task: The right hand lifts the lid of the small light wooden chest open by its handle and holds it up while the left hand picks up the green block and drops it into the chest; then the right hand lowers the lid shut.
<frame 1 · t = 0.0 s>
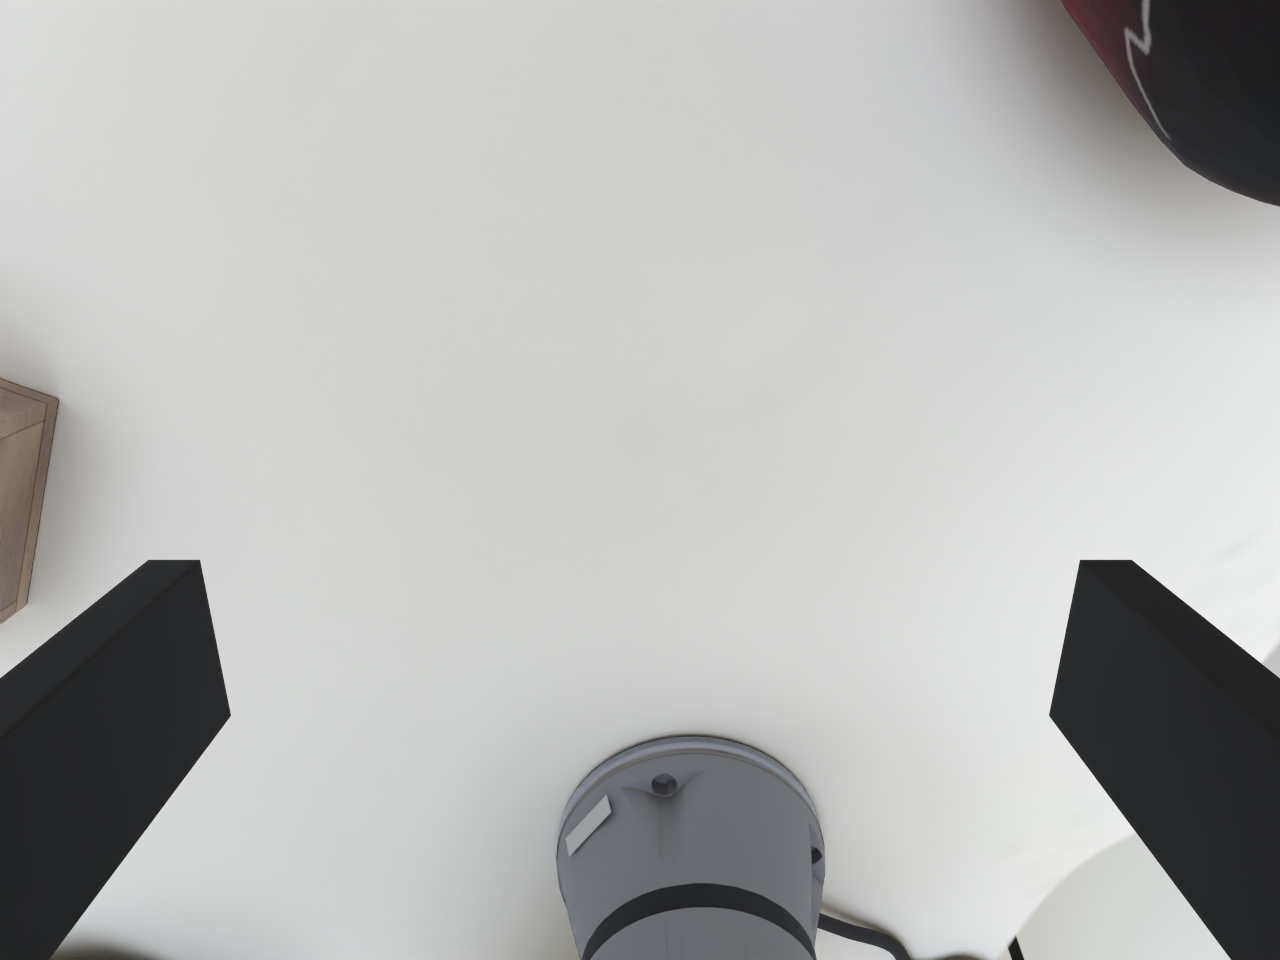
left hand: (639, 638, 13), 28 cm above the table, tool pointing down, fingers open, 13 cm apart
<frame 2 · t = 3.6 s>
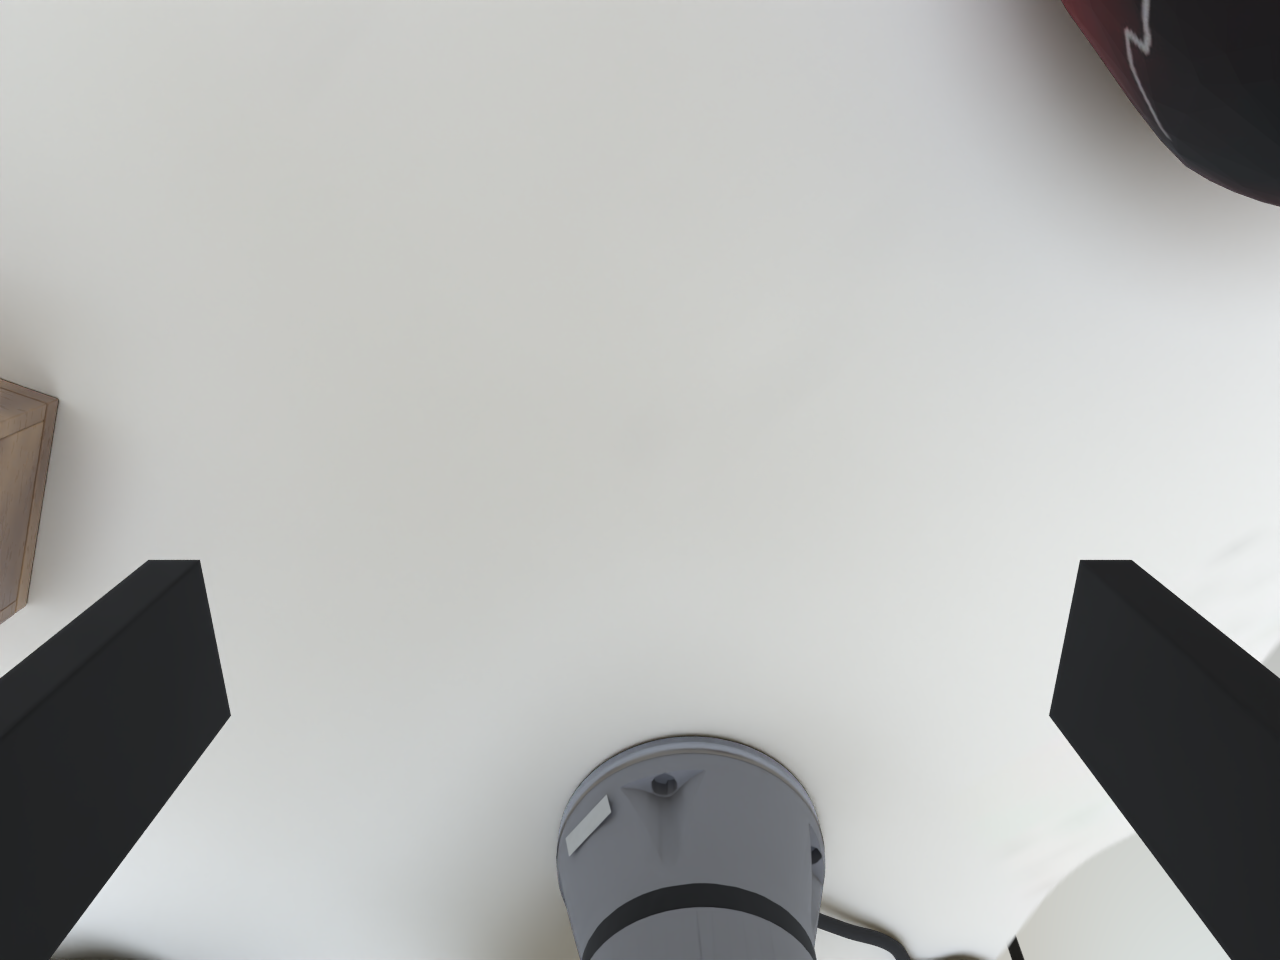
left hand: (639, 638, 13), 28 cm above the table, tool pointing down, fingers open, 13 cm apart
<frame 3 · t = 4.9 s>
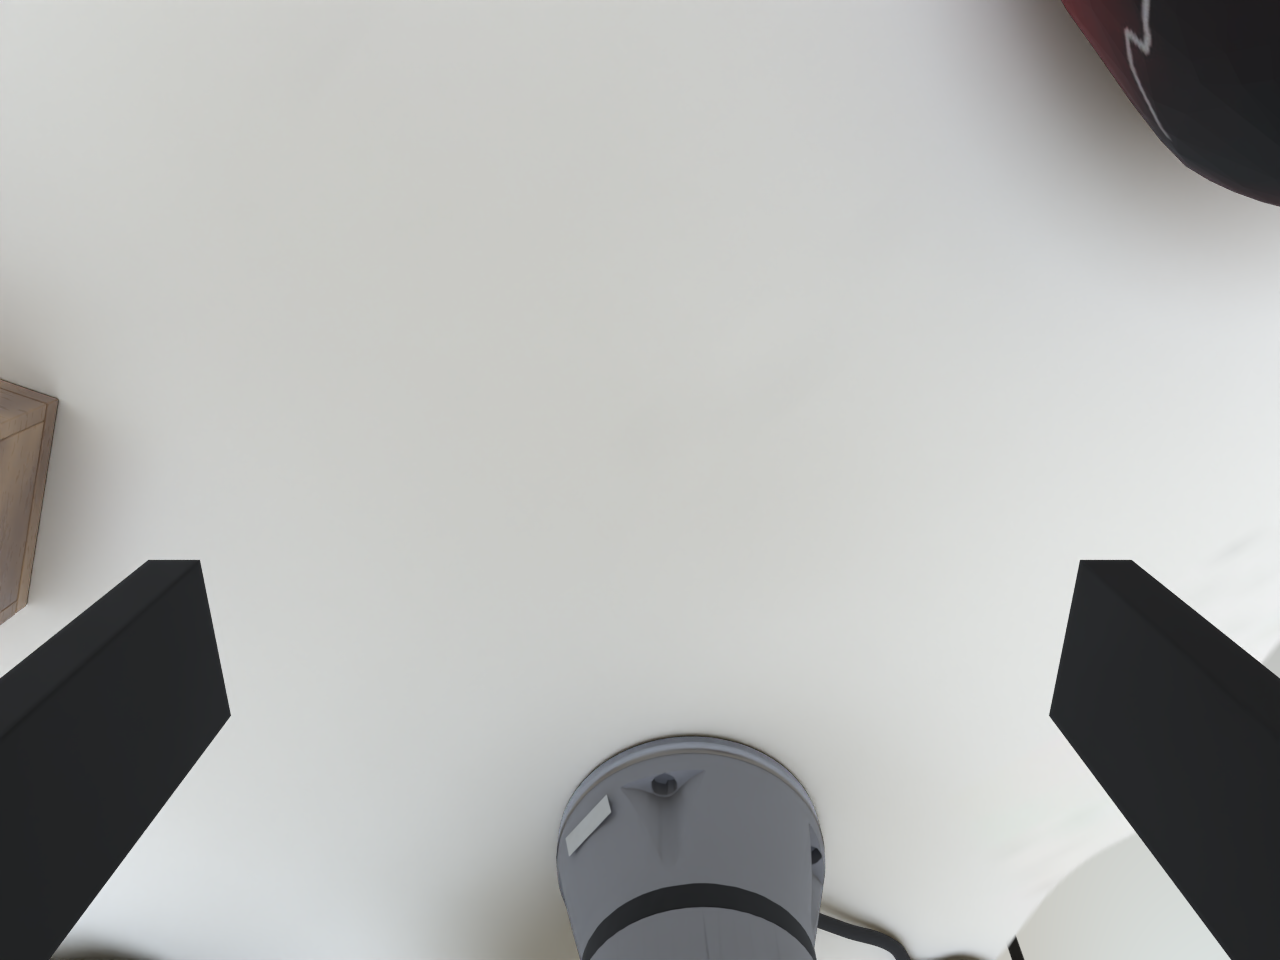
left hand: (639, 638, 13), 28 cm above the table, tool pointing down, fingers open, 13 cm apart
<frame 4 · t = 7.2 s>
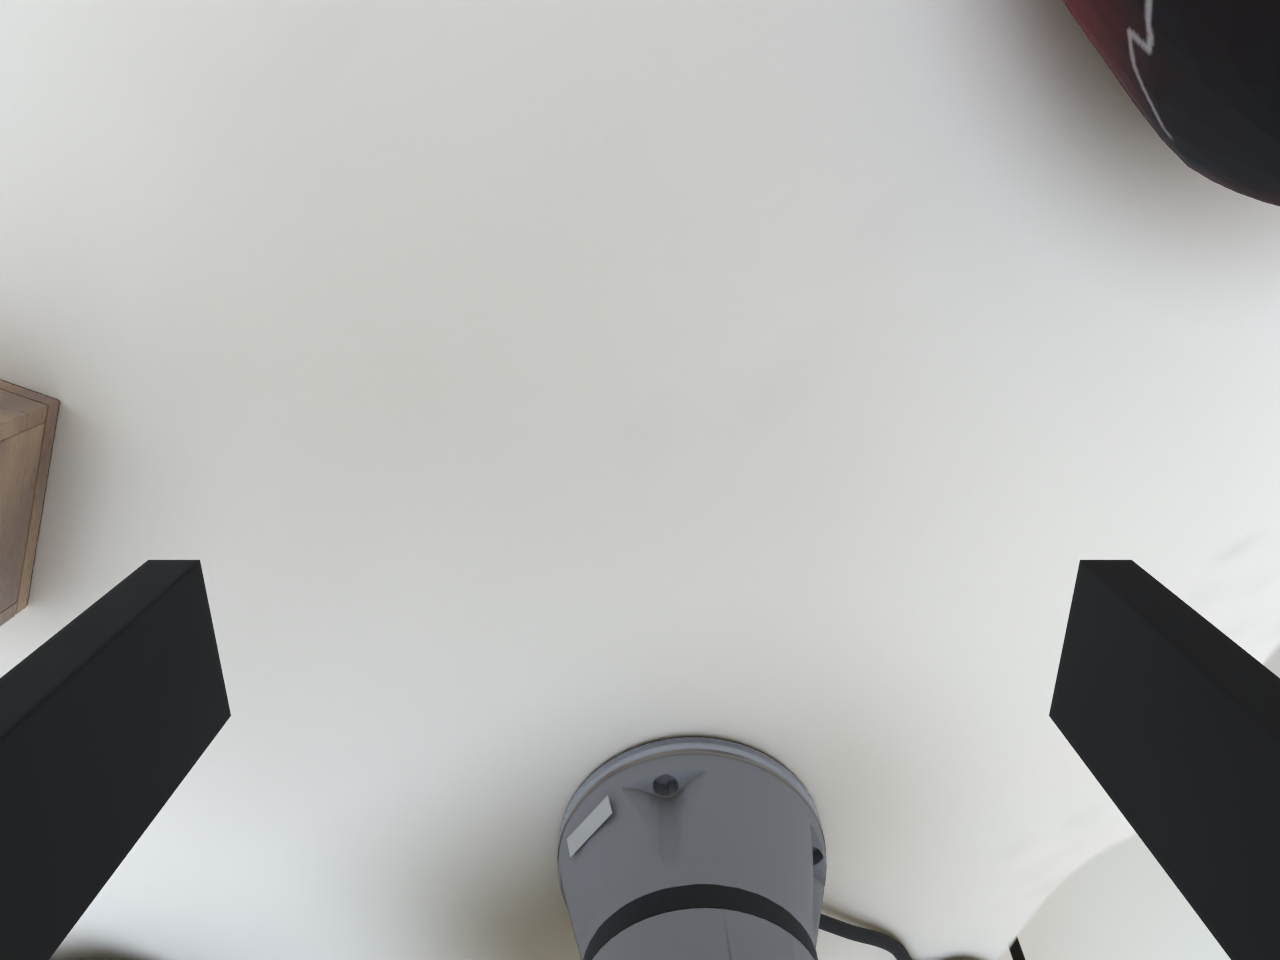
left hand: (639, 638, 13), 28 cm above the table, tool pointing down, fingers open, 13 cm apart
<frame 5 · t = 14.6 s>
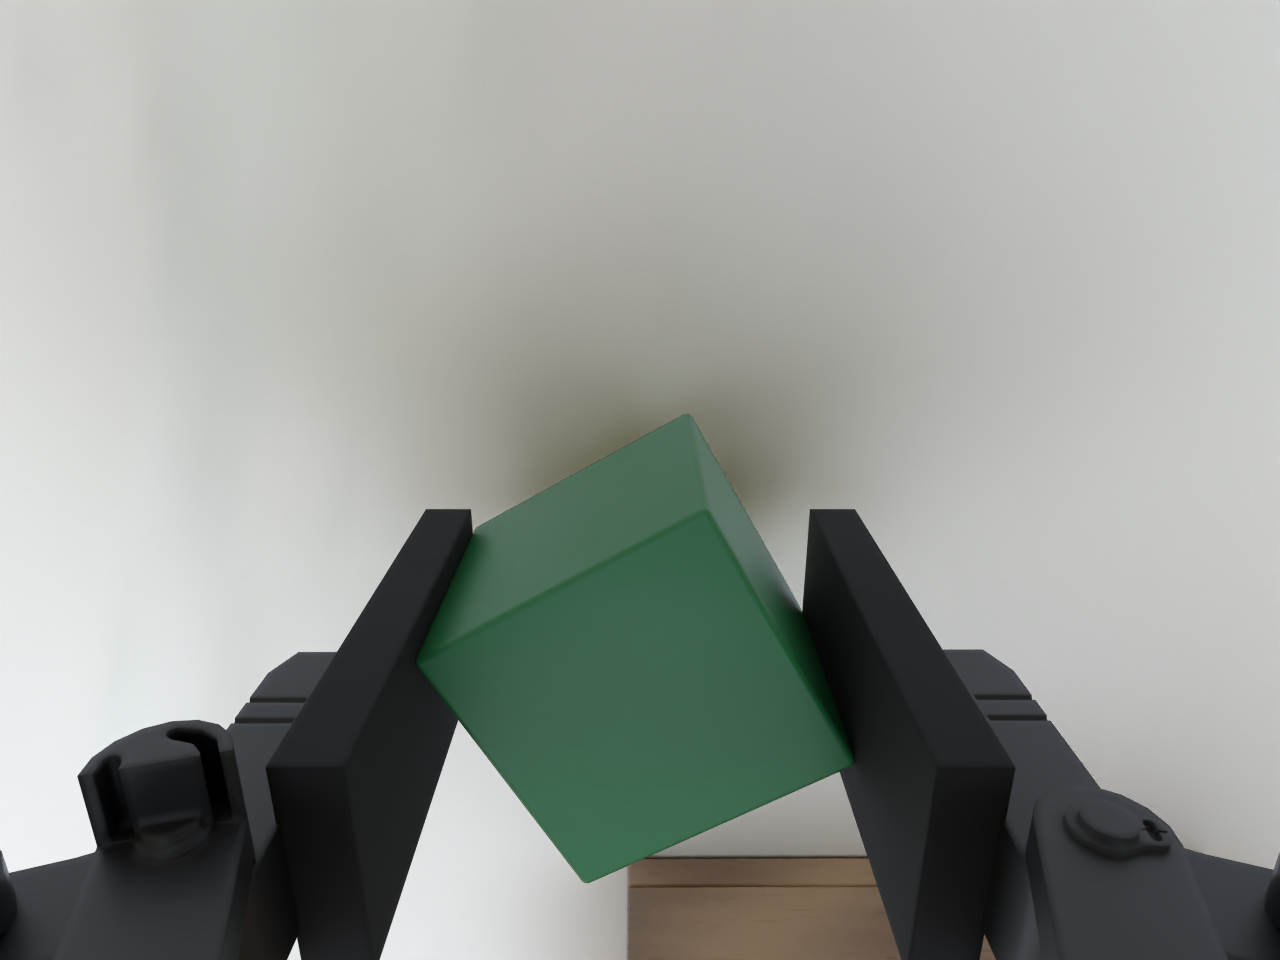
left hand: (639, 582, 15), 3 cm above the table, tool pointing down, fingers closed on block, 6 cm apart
block: (640, 569, 15), point 3 cm above the table, touching left hand
when the left hand's fingers open (14 cm above the table, at t = 18.0 s): block drops 11 cm and tips over, resting on chest.
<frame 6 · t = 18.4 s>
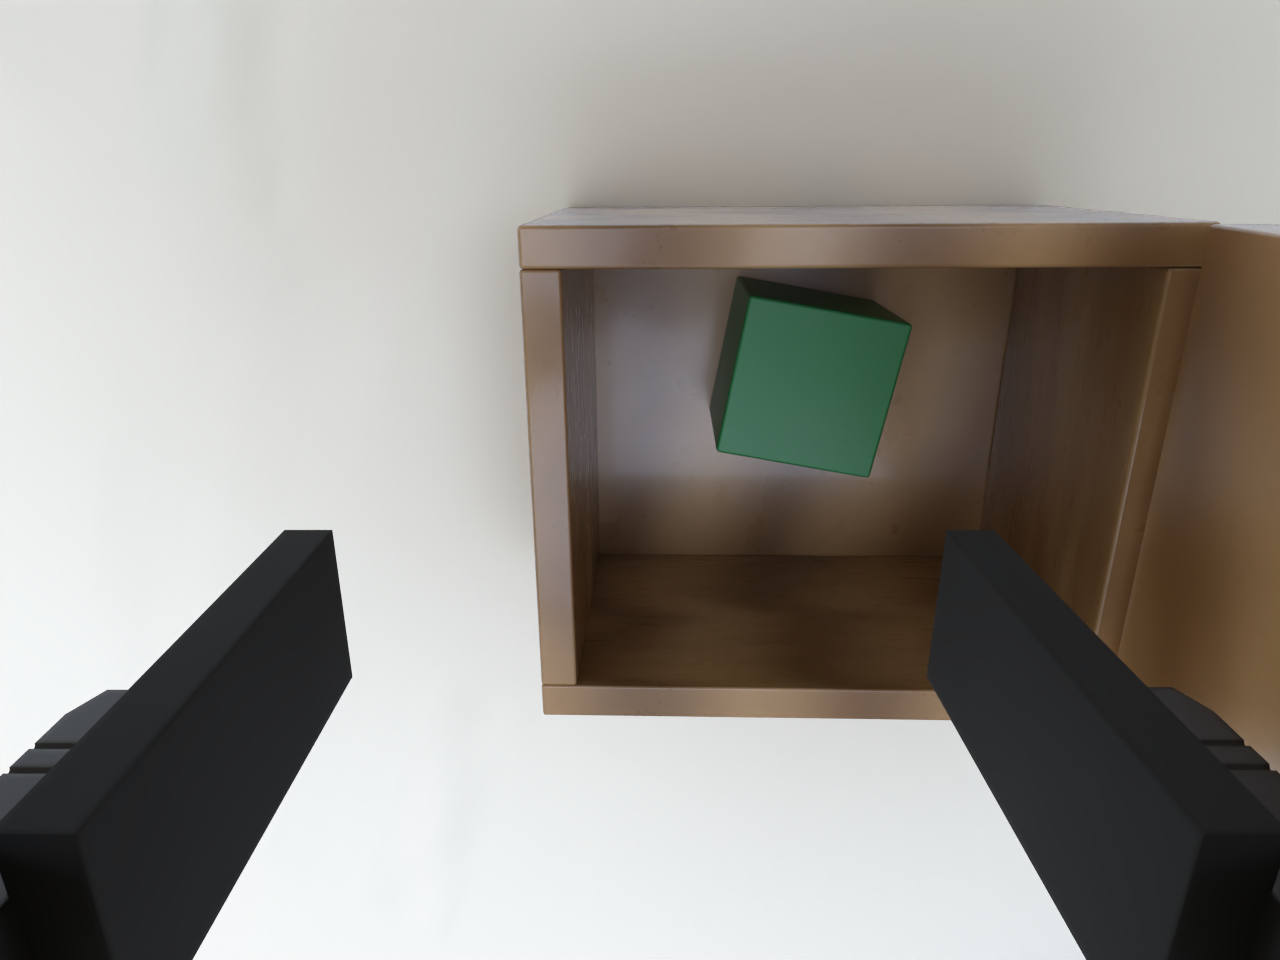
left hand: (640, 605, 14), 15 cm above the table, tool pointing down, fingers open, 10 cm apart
block: (726, 359, 24), point 3 cm above the table, tilted 90°, touching chest
chest: (791, 400, 27), on the table, touching block
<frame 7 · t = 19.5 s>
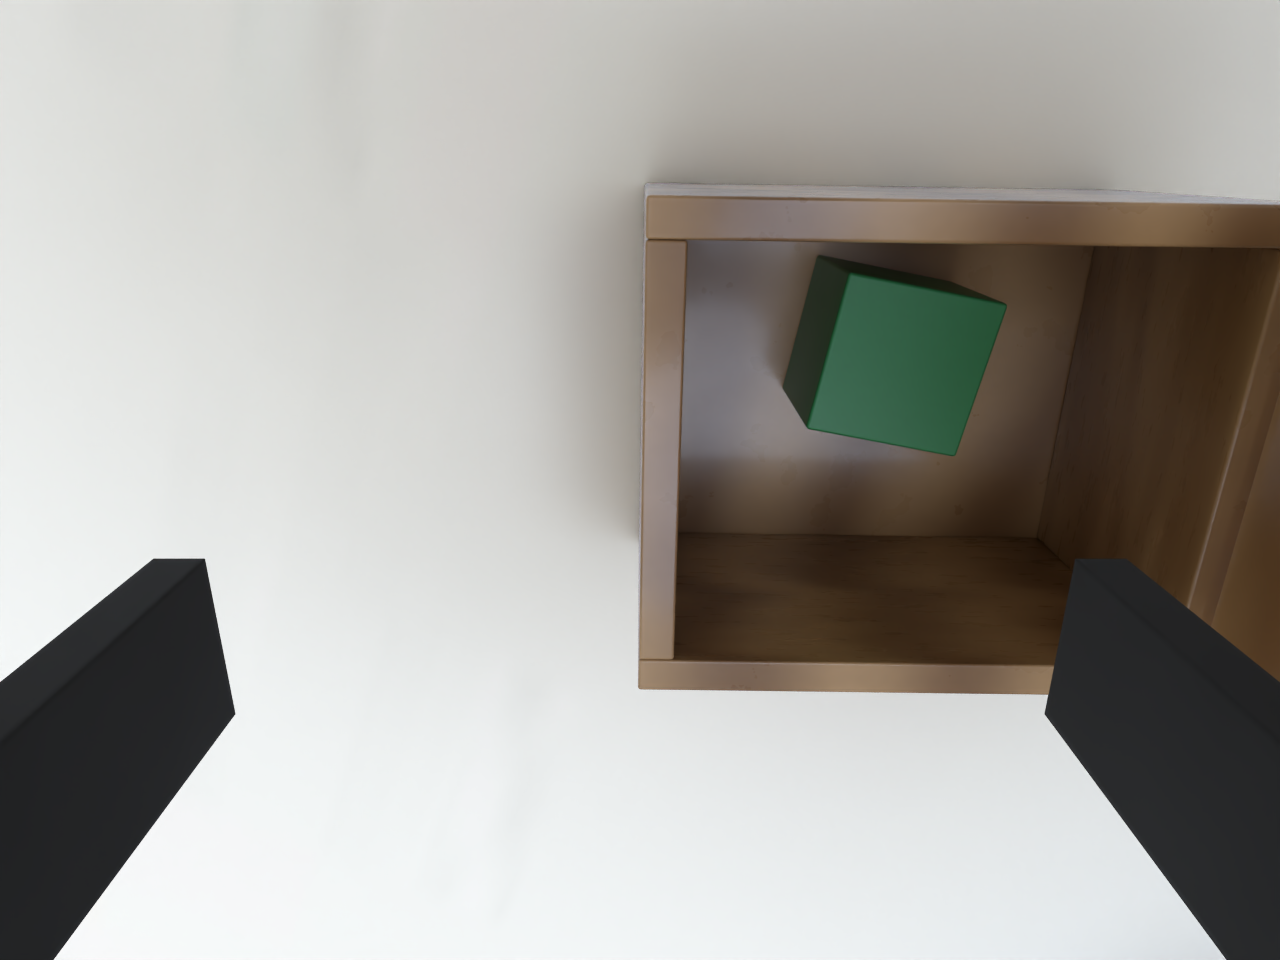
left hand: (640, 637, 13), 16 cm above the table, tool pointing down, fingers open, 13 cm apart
block: (811, 337, 24), point 3 cm above the table, tilted 90°, touching chest
chest: (860, 380, 28), on the table, touching block
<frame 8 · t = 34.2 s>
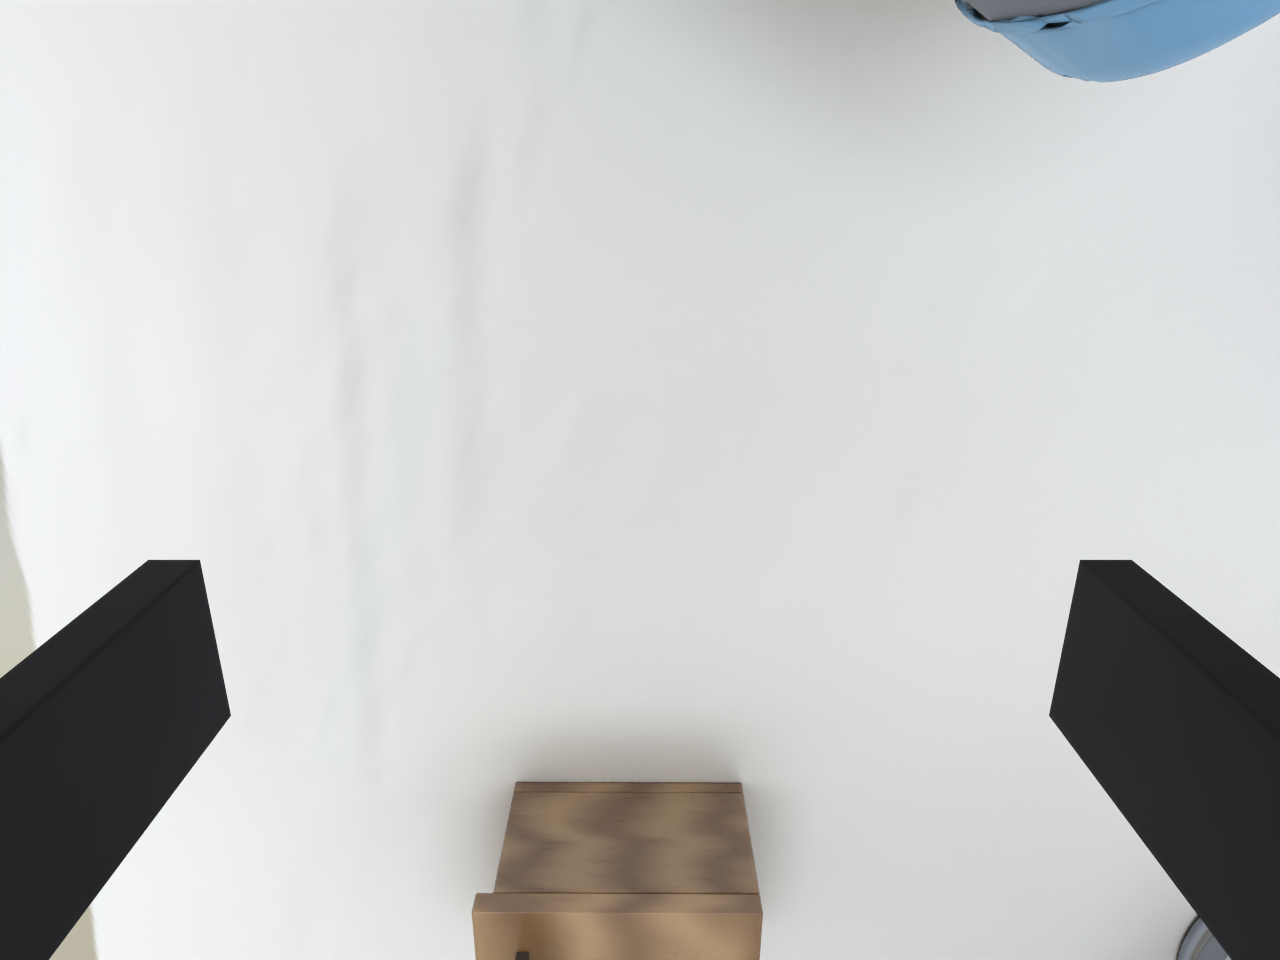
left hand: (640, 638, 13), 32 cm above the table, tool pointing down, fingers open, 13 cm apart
chest: (628, 856, 56), on the table, touching block
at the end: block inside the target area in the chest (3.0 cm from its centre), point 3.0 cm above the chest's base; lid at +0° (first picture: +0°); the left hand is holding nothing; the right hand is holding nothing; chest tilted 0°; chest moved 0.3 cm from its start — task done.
